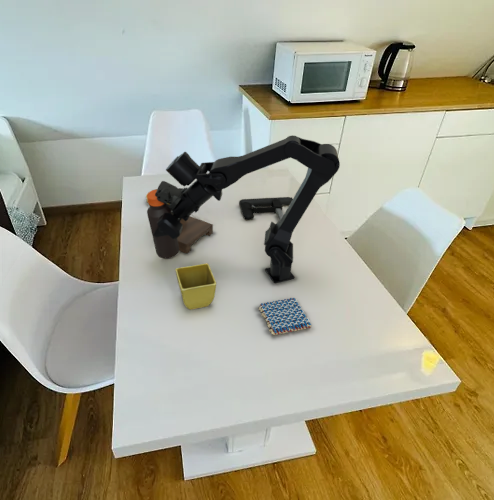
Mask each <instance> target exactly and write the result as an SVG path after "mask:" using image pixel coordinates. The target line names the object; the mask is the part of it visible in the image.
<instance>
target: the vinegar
mask: <svg viewBox="0 0 494 500" xmlns="http://www.w3.org/2000/svg"><path fill="white" fill-rule="evenodd" d="M156 191H157V190H154V189H151V190H150V191H148V192H147V193H148V194H146V195H147V199H148V202H147V204H148V206H149V207H148V208H147V210H146V215H147V219H148V223H149V227H150V232H151V235H152V240H153V245H154V248H155V253H156V255H157V256H158V257H159V258H161V259H163V260H164V259H165V260H166V259H167V260H168V259H171V258H175V257H176V256H177V255H179V252H180V251H179V244H178V239H177V238H176V239H172V238H171V237H170V236H169V235H167V236H161V237H154V236H153V234H154V232H155V231H156V229H157V228H158V227H159V226H158V225H157V223H158V221H159V219H160V217H161V215H163V214H164V213H170V214H172V215H173V213H172V212H171V209H170V208H169V204H167V203H166V204H164V203H162V202H160V201H158V200H157V197H156V196H155V193H156ZM147 199H146V200H147Z"/></svg>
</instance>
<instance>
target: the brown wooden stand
mask: <svg viewBox="0 0 494 500" xmlns="http://www.w3.org/2000/svg"><path fill="white" fill-rule="evenodd" d="M180 223H181V224H183V229H182V232H181V234H180V236H179V237H177V239H178V244H179V252H182V253H184V254H189V253H190V252H191V251H192V245H194V243H196V242H197V241H198V240H200V239H201V238H202V237H203V236H205V235H206V236H208V237H210V236H211V235H213V234H214V225H213V224H212V223H210V222H207V221H204V220H201V219H199V218H196V217H194V216H191V215H190V216H189V218H188V220H187V221H185V220H184V219H181V221H180Z"/></svg>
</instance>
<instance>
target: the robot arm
mask: <svg viewBox="0 0 494 500" xmlns="http://www.w3.org/2000/svg"><path fill="white" fill-rule="evenodd" d="M288 159H292V160H295V161H297V162H298V163H300V164H302V165H303V166H304V167H306V168H307V170H306V173H305V177H304V179H303V181H302V182H301V183H300V186H299V187H298V189H297V191H296V193H295V194H294V196H293V197H292V198H293V200H292V201H291V203H290V205H288V206H287V208H286V210H285V212H284V213H283V217H282V219H281V220H280V221H279V220H278V222H277V223H275V222H274V221H271V222H270V225H269V227H268V228H267V229H266V230H265V232H264V240H263V245H264V252H265V254H266V255H267V257H269V258H270V261H269V262H270V263H269V267H266V268H265V269H264V272H265V273H266V274H267V276H268V277H269V278H270V279H271V281H272V282H273V283H274V284H279V283H282V282H286V281H290V280H291V281H292V280H295V275H294V274H293V273H292V267H293V266H292V265H293V263H294V243H293V242H292V241H291V239H292V236H293V232H294V230H295V229H296V227H297V226H298V224H299V223H300V221H301V219H302V217H303V216H304V214H305V213H306V211H307V209H308V208H309V206H310V205H311V203H312V202H313V200H314V198H315V197H316V195H317V193H318V192H319V190H320V189H321V188H322V187H323V186H324V185H326V184H327V183H329V182H330V181H331V179H333V177H334V176H335V175H336V174H337V172H338V171H339V170H340V166H341V164H340V163H341V162H340V159H339V154H338V151H337V148H336V147H335V146H334V145H333V144H330V143H319V142H317V141H315V140H311V139H306V138H301V137H299V136H297V135H288V136H287V137H286V138H283V139H281V140H279V141H276V142H273V143H271V144H269V145H266V146H264V147H260V148H258V149H256V150H253V151H250V152H248V153H246V154H243V155H240V156H226V157H222V158H218V159H216V160H215V161H209V162H201V163H200V164H198V163H197V162H196V161H195V160H194V159H193V158H192V156H190V154H189V153H188V152H187V151H184V152H182V153H181V154H180V155H177V156H176V157H175V158H174V159H173V160H172V161H171V162H170V163H169V164H168V166H167V167H166V168H165V171H166V172H167V173H168V174H169V175H170V176H171V177H172V178H173V179H174V180H175V181H176V182H178V184H179V185H181V186H183V187H182V188H181V187H178V186H176V185H174V184H171V183H169V182H168V181H165V180H162V181H160V183H159V184H158V186H157V188H156V189H157V191H156V193H155V196H156V197H157V200H158V201H160V202H162V203H164V204H166V203H168V204H170V205H169V208H170V209H171V212H172V213H173V215H172V214H170V213H164V214H163V215H161V217H160V219H159V221H158V223H157V225H158V226H159V227H158V228H157V229H156V231H155V232H154V234H153V236H154V237H161V236H167V235H169V236H170V237H171V238H172V239H176V238H177V237H179V236H180V234H181V232H182V229H183V224H181V223H180V221H181V219H184V220H185V221H187V220H188V218H189V216H191V215H192V214H193V213H197V212H199V210H200V208H201V207H202V206H203V205H204V204H206V202H207V201H209V200H211V198H213V197H214V198H215V199H216V200H217V201H218V202H220V201H221V199H222V196H223V190H225V189H226V188H229V187H230V186H232V185H234V184H235V183H237V182H238V181H239V180H241V178H243V177H244V176H246V175H248V174H250V173H253V172H256V171H258V170H261V169H265V168H266V167H267V168H268V167H269V166H272V165H275V164H277V163H280V162H282V161H285V160H288ZM153 236H152V237H153Z"/></svg>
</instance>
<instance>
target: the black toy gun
mask: <svg viewBox="0 0 494 500" xmlns="http://www.w3.org/2000/svg"><path fill="white" fill-rule="evenodd" d="M293 198H294V197H291V196H280V197H279V196H278V197H265V198H264V197H259V198H241V199H240V200H239V201H238V205H239V207H240V210H241V214H242V217H243V219H244V220H246V221H250V220H251V221H252V220H254V217H255V216H254V215H255V214H271V213H272V214H276V217H277V219H278V222H279V221H280V220H281V219H282V217H283V215H284V212H283V206H289V205H290V203H291V201H292V200H293Z"/></svg>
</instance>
